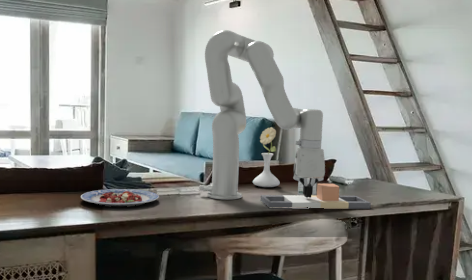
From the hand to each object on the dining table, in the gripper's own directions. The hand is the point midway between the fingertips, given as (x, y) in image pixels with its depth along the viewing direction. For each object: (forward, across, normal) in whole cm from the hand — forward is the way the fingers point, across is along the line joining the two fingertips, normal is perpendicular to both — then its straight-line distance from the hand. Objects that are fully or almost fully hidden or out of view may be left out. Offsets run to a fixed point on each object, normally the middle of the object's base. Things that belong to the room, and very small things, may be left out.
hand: (307, 196), depth 185 cm
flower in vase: (+3, -6, +36) cm, 36 cm away
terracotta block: (+1, +7, 0) cm, 7 cm away
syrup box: (+3, +6, +18) cm, 20 cm away
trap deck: (+3, +3, 0) cm, 4 cm away
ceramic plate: (+4, -64, +5) cm, 65 cm away
